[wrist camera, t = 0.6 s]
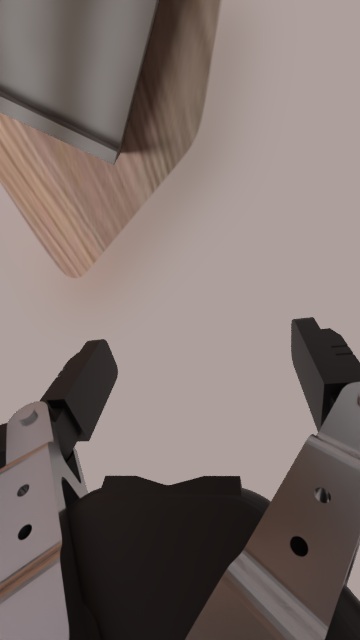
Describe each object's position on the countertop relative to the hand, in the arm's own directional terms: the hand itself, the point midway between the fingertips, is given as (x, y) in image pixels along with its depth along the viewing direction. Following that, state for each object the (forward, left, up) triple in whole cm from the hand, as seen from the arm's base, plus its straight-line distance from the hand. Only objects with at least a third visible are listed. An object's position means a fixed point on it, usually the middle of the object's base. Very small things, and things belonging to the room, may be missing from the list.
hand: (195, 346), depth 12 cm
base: (-13, +5, -27) cm, 30 cm away
